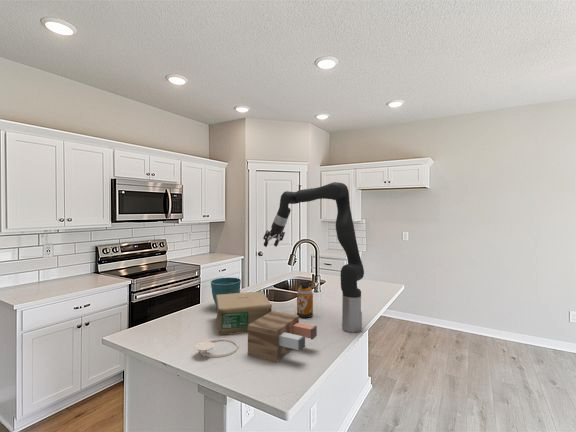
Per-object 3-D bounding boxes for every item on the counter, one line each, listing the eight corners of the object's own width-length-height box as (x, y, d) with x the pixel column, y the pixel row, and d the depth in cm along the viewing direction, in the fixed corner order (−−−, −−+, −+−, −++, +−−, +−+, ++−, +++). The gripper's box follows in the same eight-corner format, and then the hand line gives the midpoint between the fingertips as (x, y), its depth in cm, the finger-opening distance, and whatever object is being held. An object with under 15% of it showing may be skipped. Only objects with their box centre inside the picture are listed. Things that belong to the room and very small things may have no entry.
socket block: (272, 336, 150) (272, 310, 150) (298, 342, 144) (298, 315, 143) (247, 354, 132) (247, 325, 132) (276, 362, 126) (276, 331, 125)
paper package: (218, 336, 151) (218, 307, 150) (215, 318, 176) (215, 293, 175) (273, 330, 158) (273, 303, 157) (263, 313, 183) (263, 289, 182)
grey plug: (271, 339, 134) (271, 328, 134) (305, 346, 127) (305, 336, 127) (266, 343, 130) (266, 332, 130) (300, 351, 123) (300, 340, 123)
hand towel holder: (246, 337, 140) (211, 355, 123) (246, 346, 141) (211, 366, 123) (219, 328, 150) (183, 344, 133) (219, 337, 150) (183, 354, 133)
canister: (294, 316, 177) (294, 281, 176) (302, 311, 187) (302, 277, 186) (308, 319, 173) (309, 283, 172) (316, 313, 183) (316, 279, 182)
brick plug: (285, 329, 145) (285, 319, 144) (316, 335, 137) (316, 325, 137) (280, 332, 141) (280, 322, 141) (312, 339, 133) (312, 329, 133)
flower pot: (205, 312, 185) (204, 283, 184) (218, 302, 202) (218, 276, 202) (233, 314, 180) (233, 285, 180) (245, 305, 198) (245, 278, 197)
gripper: (274, 225, 181) (265, 249, 185) (291, 226, 191) (282, 249, 196) (267, 219, 185) (257, 243, 190) (284, 220, 196) (274, 242, 200)
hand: (270, 246), depth 193 cm, fingers open, 8 cm apart
